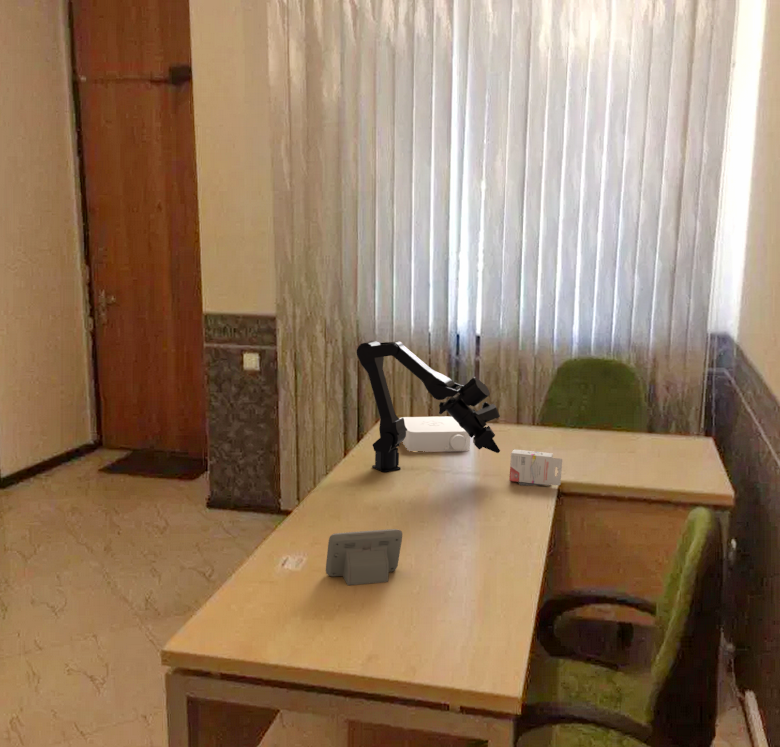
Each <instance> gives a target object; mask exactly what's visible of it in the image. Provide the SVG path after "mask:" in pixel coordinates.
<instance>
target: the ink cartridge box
mask: <svg viewBox="0 0 780 747" xmlns="http://www.w3.org/2000/svg"><path fill="white" fill-rule="evenodd" d="M562 465H563V459H562V458H557V457H554V453H553V452H545V451H544V452H543V451H533V450H523V449H513V450H512V451H511V454H510V466H509V479H508V480H509V481H510V482H514V483H515V482H517V483H518V482H524V483H534V484H542V485H547V486H561V480H562V468H563V466H562ZM556 468H557V474H556Z"/></svg>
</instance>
